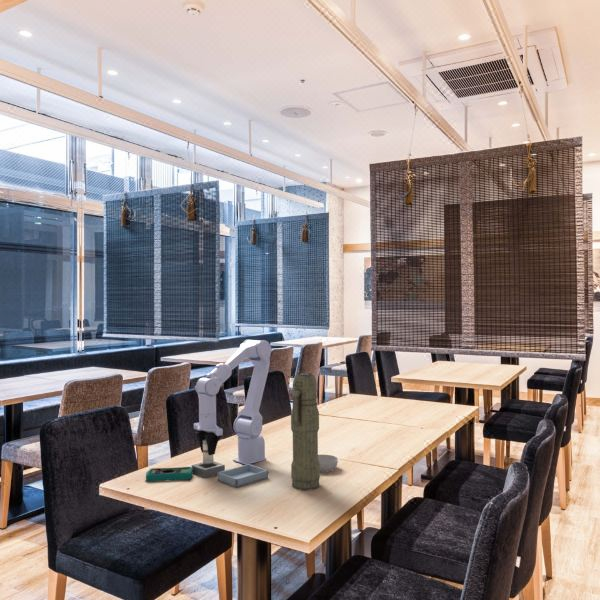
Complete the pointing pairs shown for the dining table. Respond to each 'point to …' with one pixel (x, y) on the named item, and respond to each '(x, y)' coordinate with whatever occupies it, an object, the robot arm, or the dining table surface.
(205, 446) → the cylinder
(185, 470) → the digital multimeter
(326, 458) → the small pan
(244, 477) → the parts tray
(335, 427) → the dining table surface
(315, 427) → the thermos
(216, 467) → the fuse block
